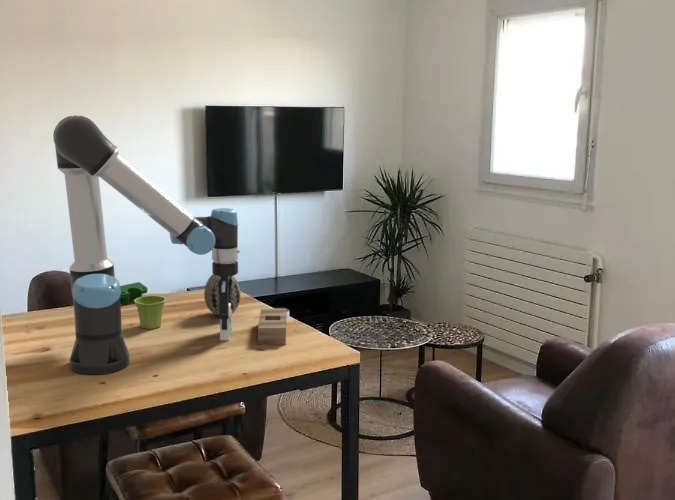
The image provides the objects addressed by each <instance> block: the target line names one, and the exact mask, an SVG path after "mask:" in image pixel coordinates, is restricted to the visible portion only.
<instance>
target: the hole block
mask: <svg viewBox="0 0 675 500" xmlns="http://www.w3.org/2000/svg"><path fill="white" fill-rule="evenodd" d="M286 340H287V308H266V307H265V308H263V307H262V308H261V309H260V314H259V320H258V328H257V345H264V346H265V345H275V346H276V345H286V342H287V341H286Z"/></svg>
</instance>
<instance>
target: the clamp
mask: <svg viewBox="0 0 675 500" xmlns="http://www.w3.org/2000/svg"><path fill="white" fill-rule="evenodd" d="M120 288H121V294H120V301H121V304H122V303H123V304H125V305H127V306H129V305H130V302H131V301H134V300H135V299H136V298H139V297H143V294H147V293H148V289H149V288H148V287H147V286H146V285H144V284H143V283H141V282H140V281H138V282H133V283H129V284H123V285H120Z"/></svg>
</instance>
